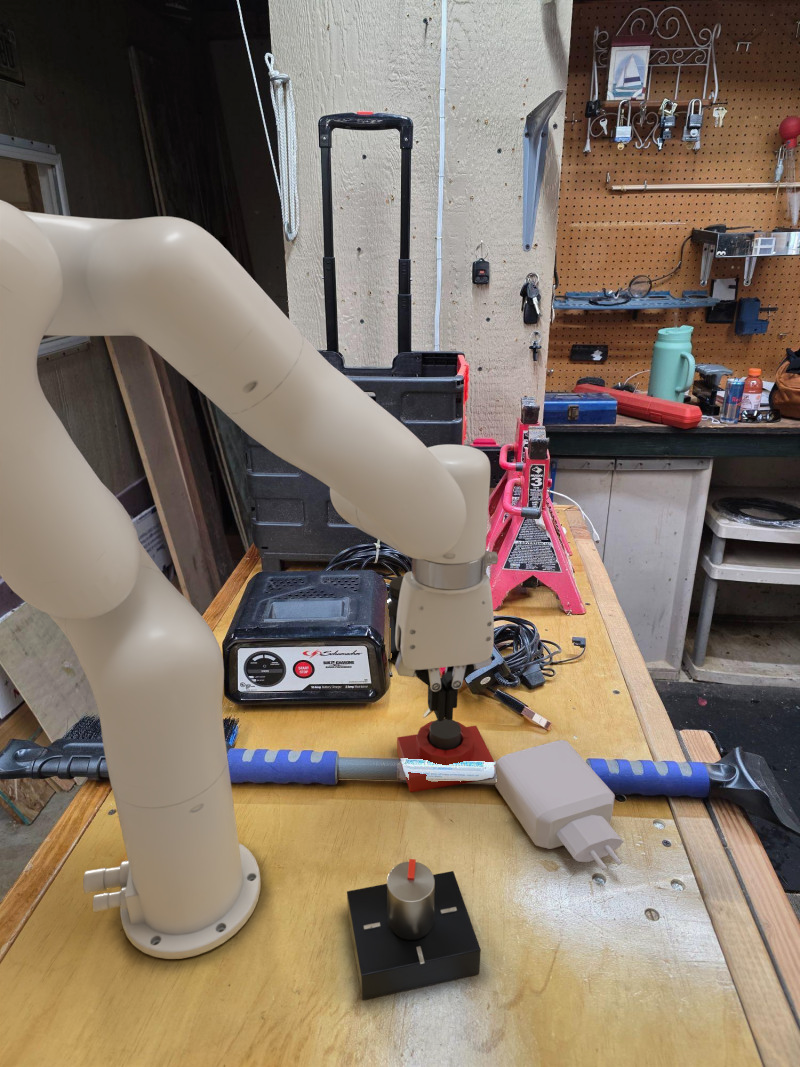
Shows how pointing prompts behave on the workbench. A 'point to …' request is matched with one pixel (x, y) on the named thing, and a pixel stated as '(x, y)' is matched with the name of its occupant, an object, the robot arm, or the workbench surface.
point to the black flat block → (411, 942)
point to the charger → (560, 801)
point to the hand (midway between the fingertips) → (441, 712)
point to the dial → (410, 900)
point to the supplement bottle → (394, 612)
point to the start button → (445, 734)
